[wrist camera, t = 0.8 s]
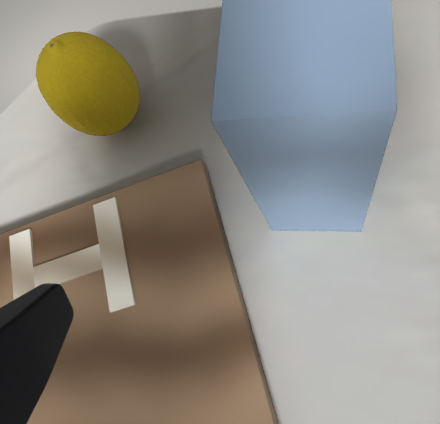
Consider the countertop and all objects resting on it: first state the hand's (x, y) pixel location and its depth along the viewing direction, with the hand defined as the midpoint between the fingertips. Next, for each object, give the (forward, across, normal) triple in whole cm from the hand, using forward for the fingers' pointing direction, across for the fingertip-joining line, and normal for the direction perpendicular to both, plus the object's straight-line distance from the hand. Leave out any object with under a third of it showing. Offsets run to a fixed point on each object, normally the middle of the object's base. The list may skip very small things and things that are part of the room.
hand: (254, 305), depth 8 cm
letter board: (+7, +12, +13) cm, 19 cm away
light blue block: (+16, -1, +6) cm, 17 cm away
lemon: (+20, +13, +2) cm, 24 cm away
